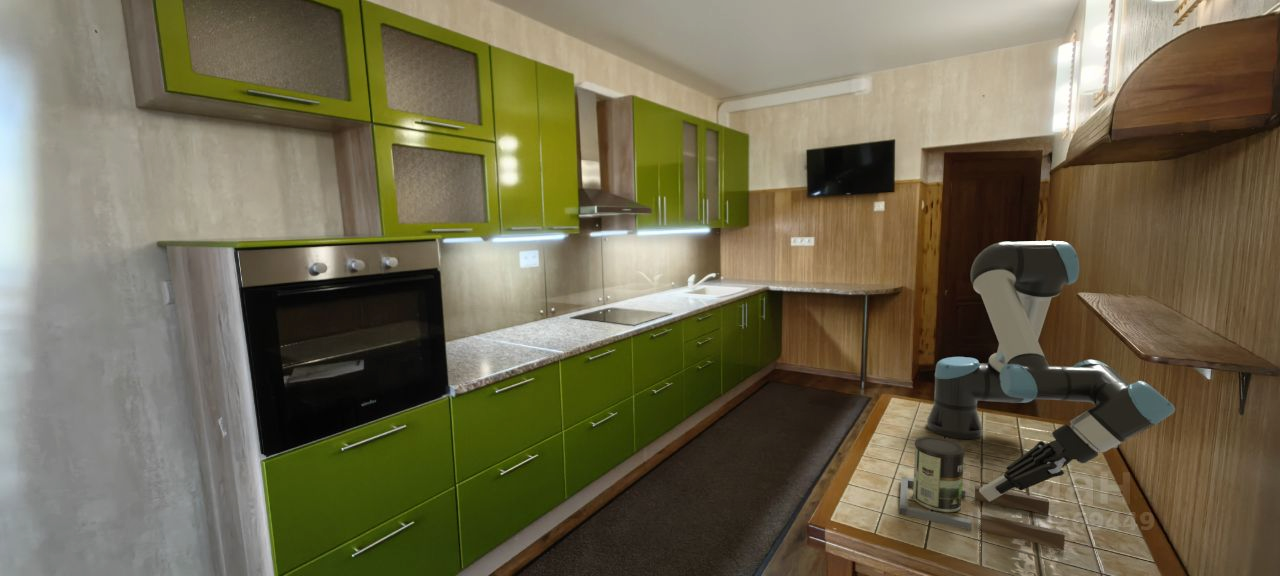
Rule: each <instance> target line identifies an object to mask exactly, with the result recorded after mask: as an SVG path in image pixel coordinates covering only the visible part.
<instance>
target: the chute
mask: <svg viewBox="0 0 1280 576" xmlns="http://www.w3.org/2000/svg"><path fill="white" fill-rule="evenodd" d="M982 487H983V486H979V485H975V487H974V488H975V490H974V499H975V501H978V502H984V503H988V504H994V505H999V506H1005V507H1009V508H1015V509H1020V510H1025V511H1030V512H1035V513H1040V514H1043V515H1044V514H1045V515H1049V511H1050V500H1049V498H1044V497H1039V496H1034V495H1029V494H1024V493H1018V492H1013V491H1008V492H1006V493H1004V494H1003V495H1001V496H999V497H997V498H995V499H994V500H992V501H990V502H989V501H988V500H987V499H986V498H985V497H984V496H983V495H982V494H981V493H980V492H979V489H980V488H982ZM980 521H981V523H980V528H981V529H980V530H981V532H985V533H989V534H995V535H999V536H1003V537H1008V538H1013V539H1018V540H1023V541H1026V542H1030V543H1035V544H1039V545H1045V546H1049V547H1053V548H1059V549H1062V550H1063V549H1064V548H1065V541H1066V540H1065V537H1066V535H1065V532H1064V531H1063V530H1059V529H1053V528H1049V527H1044V526H1041V525H1039V526H1038V525H1034V524H1029V523H1025V522H1019V521H1014V520H1009V519H1006V518H1001V517H997V516H991V515H987V514H986V515H985V514H981V520H980Z"/></svg>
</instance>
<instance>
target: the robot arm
mask: <svg viewBox="0 0 1280 576" xmlns="http://www.w3.org/2000/svg"><path fill="white" fill-rule="evenodd" d="M1079 275H1080V261H1079V257H1078V254H1077V252H1076V250H1075V248H1074V247H1073V245H1071V243H1069V242H1066V241H1064V240H1063V241H1062V240H1061V241H1059V240H1057V241H1056V240H1053V241H1052V240H1051V239H1050V240H1046V241H1045V240H1042V241H1041V240H1040V241H1039V240H1038V241H1037V240H1035V241H1033V240H1032V241H1000V242H997V243H996V242H995V243H993V244H991V245H989V246H987V247H986V248H984V249H982V251H981V252H979V254H978V255H977V256H976V257H975V259H974V261H973V263H972V265H971V269H970V282H971V284H972V287H973V290H974V291H975V292H976V293H977V294H979V295H980V296H981V300H982V301H983V304H984V307H985V309H986V312H987V314H988V318H989V321H990V323H991V325H992V328H993V332H994V334H995V335H996V339H997V341H998V347H997V352H994V353H993V354H991V355H990V357H988V361H987V363H985V362H984V363H983V362H982V363H980V362H979V360H978V359H977V358H974V357H965V356H952V357H951V356H950V357H946V358H942V359H940V360H939V361H937V363H936V365H935V372H934V392H933V393H934V398H933V399H934V401H933V405H932V407H931V410H930V413H929V415H927V416H928V417H927V420H926V427H927V429H928V430H930V431H931V432H933V433H935V434H936V435H940V436H944V437H947V438H952V439H958V440H959V439H960V440H975V439H978V438H981V437H982V436H983V426H982V422H981V419H980V416H979V413H978V409H977V408H978V401H983V402H998V403H999V402H1000V403H1011V404H1017V403H1018V404H1019V403H1020V404H1021V403H1024V404H1025V403H1030V402H1032V401H1033V400H1047V401H1048V400H1052V401H1053V400H1054V401H1064V402H1065V401H1068V402H1087V403H1092V404H1093V405H1094V407H1093V408H1089V409H1088V410H1086V411H1084V412H1083V413H1081V414H1079V415H1078V416H1075V417H1074V418H1073V419H1071V420H1070V424H1067V423H1065V424H1064V425H1062V426H1060V427H1058V428H1056V429H1055V430H1053V431H1052V432H1051V436H1052V437H1053V438H1054V440H1053V441H1050V442H1047V443H1045V442H1044V441H1043V440H1040V441H1038V443H1036V444H1035V445H1034V446H1033V448H1031V449H1030V450H1028V451H1026V453H1024V454H1022V455H1021V456H1020V457H1019V458H1017V459H1016V460H1015V461H1013V462H1012V463H1010V464H1008V466H1006V468H1005V469H1006V471H1005V472H1004V474H1003V475H1001V476H999V477H997V478H995V479H994V480H992V481H990V482H988V483H987V484H985V485H984V486H981V487H982V488H980V489H979V492H980V493H981V494H982V495H983V496H984V497H985V498H986V499H987V500H988V501H989V502H990V501H992V500H994V499H995V498H997V497H999V496H1001V495H1003V494H1004V493H1006V492H1011V490H1014V488H1015V489H1018V491H1023V490H1026V489H1028V488H1031V487H1032V486H1035V485H1038V484H1040V483H1042V482H1045V481H1048V480H1050V479H1052V478H1057V477H1060V476H1063V475H1064V474H1065V472H1064V471H1063V470H1062V468H1064V467H1066V466H1067V465H1068V464H1070V463H1071V462H1072V461H1073V460H1076V461H1077V462H1079V463H1080V464H1086V463H1088V462H1089V461H1092V460H1093V459H1095V458H1097V457H1098V456H1099V452H1100V453H1105V452H1107V451H1109V450H1111V449H1112V448H1114V449H1117V448H1118V447H1119V445H1120V444H1122V443H1124V442H1126V441H1127V440H1129V439H1131V438H1133V437H1134V436H1136V435H1138V434H1140V433H1142V432H1144V431H1146V430H1147V429H1149V428H1152V427H1153V426H1155V425H1158V424H1160V423H1161V422H1163V421H1164V420H1165V419H1167V418H1168V417H1170V416H1171V415H1173V414H1174V413H1175V411H1176V407H1175V405H1174V404H1172V402H1170V401H1169V400H1168V399H1167V398H1166V397H1164V396H1163V395H1162V394H1161V393H1160V392H1159V391H1157V390H1156V389H1155V388H1153V386H1151V385H1150V384H1148V383H1147V382H1145V381H1143V380H1138V381H1135V382H1133V383H1129V382H1128V381H1127V380H1126V379H1125V378H1123V376H1121V375H1120V374H1119V372H1117V370H1115V369H1114V368H1112V367H1110V366H1109V365H1107V364H1106V363H1104V362H1102V361H1100V360H1096V359H1086V360H1085V359H1084V360H1082V361H1079V362H1077V363H1075V364H1074V365H1073V366H1065V365H1064V366H1061V365H1049V363H1048V360H1047V359H1046V356H1045V354H1044V352H1043V350H1042V347H1041V344H1040V343H1039V338H1040V336H1041V332H1042V329H1043V326H1044V323H1045V320H1046V316H1047V313H1048V310H1049V307H1050V304H1051V301H1052V298H1054V297H1058V296H1059V295H1060V294H1061V293H1062V290H1063V287H1064V286H1065V285H1066V286H1069V285H1073V284H1074V283H1076V282H1077V280H1078V278H1079Z"/></svg>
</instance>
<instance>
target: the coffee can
mask: <svg viewBox="0 0 1280 576" xmlns="http://www.w3.org/2000/svg"><path fill="white" fill-rule="evenodd" d="M965 453H966V451H965V448H964V447H963V445H961V444H959V443H958V442H956V441H952V440H950V439H946V438H942V437H936V436H933V437H932V436H924V437H918V438H916V439H915V440H914V468H913V469H914V471H913V479H914V487H912V490H913V491H912V498H913V500H914V501H915V502H916V503H917V504H918V505H921V506H922V507H925V508H927V509H930V510H931V511H932V510H933V511H936V512H942V513H954V512H958V511H961V508H962V488H963V478H964V477H963V475H964V463H965V461H964V459H965Z"/></svg>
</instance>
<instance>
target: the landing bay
mask: <svg viewBox="0 0 1280 576" xmlns="http://www.w3.org/2000/svg"><path fill="white" fill-rule="evenodd" d="M900 480H901V481H900V495H899V497H900V498H899V515H902V516H907V517H911V518H916V519H920V520H925V521H928V522H932V523H933V522H934V523H939V524H943V525H948V526H952V527H957V528H960V529H966V530H970V531H971V530H972V520H971V519H968V518H963V517H958V516H953V515H949V514H945V513H940V512H937V511H936V512H935V511H932V510H925V509H920V508H916V507H912V506H908V491H909V488H908V487H911V488H914V478H911V477H907V476H903V475H902V476H901V479H900ZM966 493H967V491H966V488H965V487H962V496H961V498H962V497H963V498H966V495H967V494H966Z"/></svg>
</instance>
